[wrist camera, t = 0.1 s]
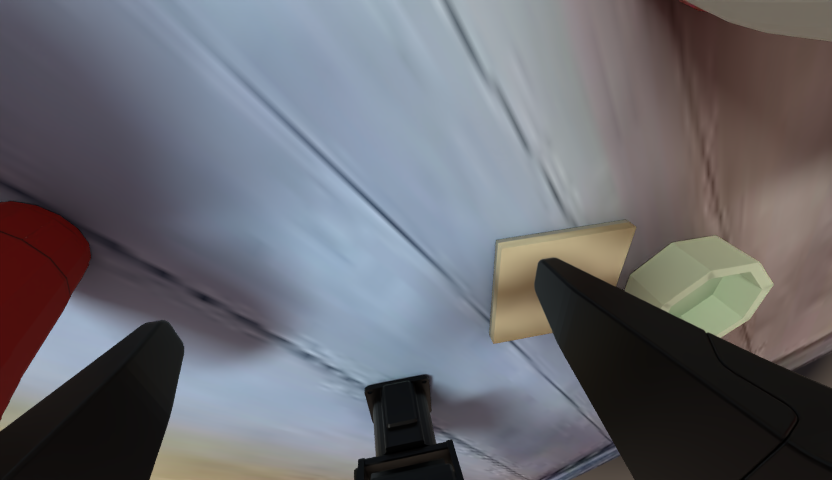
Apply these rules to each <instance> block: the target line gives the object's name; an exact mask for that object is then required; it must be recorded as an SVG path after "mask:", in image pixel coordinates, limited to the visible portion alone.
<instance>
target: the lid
mask: <svg viewBox="0 0 832 480" xmlns="http://www.w3.org/2000/svg"><path fill="white" fill-rule="evenodd" d="M635 230H636V227H635V226H634V225H633V224H631V223H630V222H626V223H620V224H614V225H608V226H601V227H595V228H589V229H582V230H576V231H570V232H564V233H557V234H551V235H545V236H538V237H532V238H526V239H520V240H513V241H507V242H501V243H498V248H497V261H496V273H495V286H494V299H493V312H492V324H491V339H492V342H493V344H496V343H501V342H506V341H511V340H517V339H522V338H527V337H533V336H538V335H543V334H549V333H553V332H552V330H551V327H550V325H549V323H548V320H547V318H546V316H545V313H544V311H543V309H542V306H541V304H540V302H539V299H538V297H537V295H536V292H535V288H534V282H535V276H536V270H537V264H538V262H539V261H540V260H541V259H545V258H552V257H555V258H558V259H560V260H562V261H564V262H566V263H568V264H571V265H573V266H575V267H577V268H579V269H581V270H583V271H585V272H587V273H589V274H591V275H593V276H595V277H597V278H599V279H601V280H603V281H605V282H607V283H609V284H611V285H613V286H615V287H616V284H617V282H618V279H619V276H620V273H621V270H622V267H623V264H624V261H625V258H626V256H627V253H628V250H629V247H630V244H631V241H632V238H633V235H634V232H635Z"/></svg>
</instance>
